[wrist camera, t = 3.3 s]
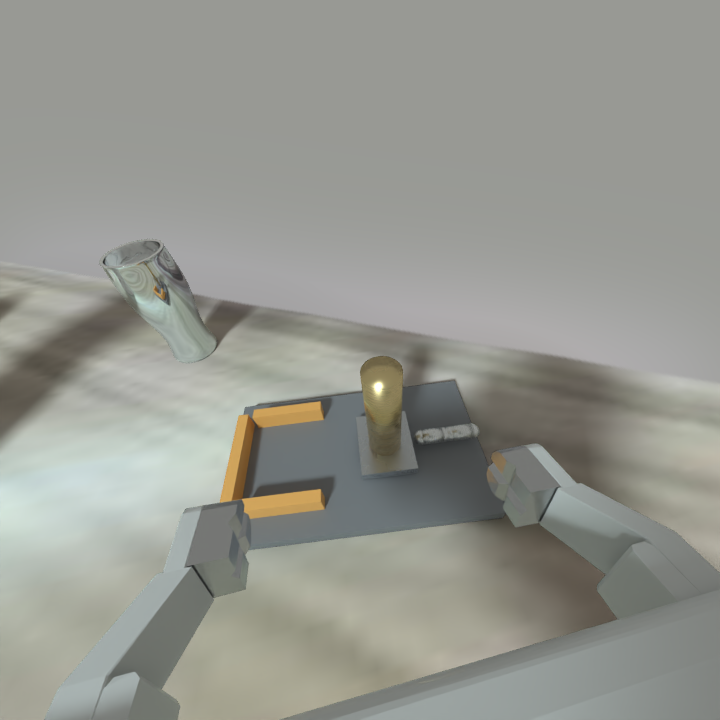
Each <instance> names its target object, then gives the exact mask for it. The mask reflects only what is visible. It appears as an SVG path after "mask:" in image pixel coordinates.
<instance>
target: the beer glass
mask: <svg viewBox="0 0 720 720" xmlns="http://www.w3.org/2000/svg"><path fill="white" fill-rule="evenodd" d="M99 264H100V265H101V266H102V267H103V269H104V271H105V272H106V274H107V275H108V277H109V278H110V280H111V281H112V283H113V284H114V286H115V287H116V289H117V290H118V292H119V293H120V294H121V296H122V297H123V298H124V299H125V301H126V302H127V303H128V304H129V305H130V307H131V308H132V309H133V310H134V311H135V312H136V313H137V314H138V315H139V316H140V317H142V318H143V319H144V320H145V321H146V322H147V323H148V324H149V325H150V326H152V327H153V328H154V329H155V330H156V331H157V332H158V333H159V334H160V335H161V336H162V337H163V338H164V339H165V340H166V342H167V343H168V345H169V347H170V349H171V351H172V353H173V356H174V357H175V359H176V360H177V361H179V362H181V363H193V362H197V361H200V360H202V359H204V358H206V357H207V356H209V355H210V354H211V353H212V352H213V351H214V349H215V348H216V346H217V339H216V337H215V336H214V335H213V334H212V333H211V331H210V330H209V329H208V328H207V327H206V326H205V324H204V323H203V321H202V319H201V317H200V314H199V312H198V309H197V306H196V303H195V300H194V297H193V295H192V292H191V290H190V287H189V285H188V283H187V281H186V279H185V277H184V275H183V273H182V272H181V270H180V268H179V267H178V265H177V264H176V262H175V261H174V259H173V258H172V256H171V255H170V254H169V252H168V251H167V249H166V248H165V246H164V244H163V243H162V242H161V241H160V240H156V239H144V240H137V241H133V242H129V243H126V244H123V245H121V246H118V247H116V248H114V249H112V250H110V251H109V252H107V253H106V254H105V255H103V256H102V258H101V259H100V261H99Z"/></svg>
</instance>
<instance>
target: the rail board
mask: <svg viewBox="0 0 720 720" xmlns="http://www.w3.org/2000/svg"><path fill="white" fill-rule="evenodd" d="M402 411H405V413H406V418H407V422H408V426H409V431H410V435H411V439H412V443H413V448H414V452H415V456H416V461H417V465H418V473H412V474H404V475H397V476H389V477H381V478H373V479H365V480H363V479H362V473H361V463H360V452H359V442H358V432H357V422H356V417H361V416H366V414H365V407H364V399H363V392H362V393H354V394H346V395H338V396H330V397H322V398H314V399H306V400H298V401H290V402H282V403H275V404H267V405H259V406H251V407H245V410H244V415H240V416H239V417H238V421H237V426H236V430H235V435H234V440H233V444H232V449H231V453H230V458H229V462H228V467H227V471H226V476H225V480H224V485H223V490H222V494H221V499H220V503H221V502H227V501H233V500H239V499H242V501H243V503H244V505H245V507H244V512H245V513H247V514H248V515H249V518H250V522H251V547H250V548H249V550H253V549H261V548H269V547H277V546H285V545H293V544H300V543H308V542H316V541H324V540H332V539H340V538H347V537H355V536H363V535H371V534H379V533H387V532H395V531H402V530H410V529H418V528H426V527H434V526H442V525H449V524H457V523H465V522H473V521H481V520H489V519H497V518H503V517H504V515H505V514H506V512H505V511H504V509H503V500H501V499H499V498H498V497H496V496H495V495H494V493H493V492H492V490H491V488H490V486H489V484H488V480H487V470H488V467H489V465H488V463H487V461H486V458H485V456H484V453H483V451H482V448H481V446H480V443H479V441H478V438H477V437H476V438H472V439H464V440H456V441H448V440H447V441H446V442H441V443H433V444H425V445H420V444H418V443H416V441H415V440H414V434H415V432H416V431H418V430H422V429H430V428H437V427H445V428H446V427H447V426H453V425H461V424H469V423H471V421H470V418H469V416H468V413H467V411H466V408H465V406H464V403H463V401H462V398H461V396H460V393H459V391H458V389H457V386H456V384H455V381H449V382H441V383H433V384H425V385H417V386H409V387H403V388H402Z"/></svg>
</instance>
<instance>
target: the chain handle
mask: <svg viewBox="0 0 720 720" xmlns="http://www.w3.org/2000/svg"><path fill="white" fill-rule="evenodd" d="M360 376H361V383H362V391H363V399H364V407H365V414H366V416H361V417H356V422H357V432H358V442H359V452H360V463H361V473H362V479H363V480H365V479H373V478H381V477H389V476H397V475H404V474H412V473H418V465H417V461H416V456H415V452H414V448H413V443H412V439H411V435H410V431H409V426H408V422H407V418H406V413H405V411H402V388H403V369H402V366H401V364H400V363H399V362H398V361H397V360H395V359H393V358H391V357H387V356H378V357H374V358H371V359H369V360H367V361H366V362H365V363H364V364H363V365H362V367H361V370H360ZM478 435H479V428H478V426H477V425H475V424H472V423H469V424H461V425H453V426H447V427H446V428H445V427H437V428H430V429H422V430H418V431H416V432H415V434H414V440H415V441H416V443H418V444H420V445H425V444H433V443H441V442H446V441H447V440H448V441H456V440H464V439H472V438H476V437H477V436H478Z"/></svg>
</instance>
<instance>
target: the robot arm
mask: <svg viewBox="0 0 720 720" xmlns="http://www.w3.org/2000/svg"><path fill="white" fill-rule="evenodd" d="M491 460H492V461H493V463H492V464H491V465H490V466H489V467H488V470H487V480H488V484H489V486H490V488H491V490H492V492H493V493H494V495H495V496H496V497H498V498H499V499H501V500H503V509H504V511H505V512H506V514H507V515H508V517H509V519H510V520H511V522H512V523H513V525H514V526H515V527H520V526H525V525H530V524H535V523H540V525H541V526H543V527H544V528H545V529H546V530H548V531H549V532H550V533H552V534H553V535H554V536H556V537H557V538H558V539H560V540H561V541H562V542H564V543H565V544H566V545H567V546H569V547H570V548H571V549H573V550H574V551H575V552H577V553H578V554H579V555H581V556H582V557H583V558H585V559H586V560H587V561H589V562H590V563H591V564H592V565H594V566H595V567H596V568H598V569H599V570H600V571H602V572H603V573H604V574H606V575H605V576H604V577H603V579H602V580H601V581H600V582H599V583H598V584H597V591H598V593H599V594H600V595H601V597H602V598H603V600H604V601H605V602H606V604H607V605H608V606H609V608H610V609H611V611H612V612H613V613H614V615H615V616H616V618H617V619H618V620H614V621H611V622H608V623H604V624H601V625H597V626H594V627H591V628H587V629H584V630H581V631H577V632H574V633H570V634H567V635H564V636H560V637H557V638H554V639H550V640H547V641H543V642H540V643H537V644H533V645H530V646H527V647H523V648H520V649H516V650H513V651H510V652H506V653H503V654H499V655H496V656H493V657H489V658H486V659H483V660H479V661H476V662H472V663H469V664H466V665H462V666H459V667H456V668H452V669H449V670H445V671H442V672H439V673H435V674H432V675H429V676H425V677H422V678H418V679H415V680H412V681H408V682H405V683H402V684H398V685H395V686H391V687H388V688H385V689H381V690H378V691H375V692H371V693H368V694H364V695H361V696H358V697H354V698H351V699H348V700H344V701H341V702H337V703H334V704H331V705H327V706H324V707H321V708H317V709H314V710H310V711H307V712H304V713H300V714H297V715H294V716H290V717H287V718H283V719H280V720H720V573H719V572H718V571H717V570H716V569H715V568H714V567H713V566H712V565H711V564H710V563H709V562H707V561H706V560H705V559H704V558H703V557H702V556H701V555H700V554H699V553H698V552H697V551H696V550H695V549H693V548H692V547H691V546H690V545H689V544H688V543H687V542H686V541H685V540H684V539H683V538H682V537H681V536H680V535H678V534H677V533H676V532H675V531H673V530H671V529H669V528H667V527H665V526H663V525H661V524H659V523H657V522H655V521H653V520H651V519H650V518H648V517H646V516H644V515H642V514H640V513H638V512H636V511H634V510H632V509H630V508H628V507H626V506H624V505H623V504H621V503H619V502H617V501H615V500H613V499H611V498H609V497H607V496H605V495H603V494H601V493H599V492H597V491H596V490H594V489H592V488H590V487H588V486H586V485H584V484H582V483H578V484H577V483H576V482H575V481H574V480H573V479H572V478H571V477H570V476H569V475H568V474H567V473H566V471H565V470H564V469H563V468H562V467H561V466H560V465H559V464H558V463H557V462H556V461H555V460H554V459H553V457H552V456H551V455H550V454H549V453H548V452H547V451H546V450H545V449H544V448H543V447H542V446H541V445H539V444H537V443H535V444H529V445H524V446H517V447H512V448H507V449H502V450H498V451H495V452H493V453H492V456H491ZM244 507H245V505H244V503H243V501H242V499H239V500H233V501H227V502H221V503H215V504H210V505H203V506H198V507H192V508H187V509H185V511H184V512H183V514H182V515H181V518H180V521H179V524H178V527H177V530H176V533H175V537H174V540H173V543H172V546H171V549H170V552H169V555H168V558H167V561H166V564H165V567H164V570H163V572H162V573H158V574H156V575H155V576H154V578H153V579H152V580H151V581H150V582H149V583H148V585H147V586H146V587H145V588H144V589H143V590H142V592H141V593H140V594H139V595H138V596H137V597H136V599H135V600H134V601H133V602H132V603H131V604H130V606H129V607H128V608H127V609H126V610H125V611H124V613H123V614H122V615H121V616H120V617H119V618H118V620H117V621H116V622H115V623H114V624H113V625H112V627H111V628H110V629H109V630H108V631H107V632H106V634H105V635H104V636H103V637H102V638H101V639H100V641H99V642H98V643H97V644H96V645H95V646H94V648H93V649H92V650H91V651H90V652H89V653H88V655H87V656H86V657H85V658H84V659H83V660H82V662H81V663H80V664H79V665H78V666H77V667H76V669H75V670H74V671H73V672H72V673H71V674H70V676H69V677H68V678H67V679H66V680H65V681H64V683H63V684H62V685H61V686H60V687H59V688H58V690H57V692H56V695H55V697H54V699H53V701H52V703H51V706H50V708H49V710H48V712H47V714H46V717H45V719H44V720H178V715H179V710H180V705H179V703H178V701H177V700H176V699H175V698H173V697H172V696H170V695H169V694H167V693H166V692H164V691H163V690H162V688H163V686H164V684H165V683H166V681H167V679H168V677H169V676H170V674H171V672H172V671H173V669H174V667H175V666H176V664H177V662H178V660H179V659H180V657H181V655H182V654H183V652H184V650H185V649H186V647H187V645H188V643H189V642H190V640H191V638H192V637H193V635H194V633H195V632H196V630H197V628H198V626H199V625H200V623H201V621H202V620H203V618H204V616H205V615H206V613H207V611H208V609H209V608H210V606H211V604H212V603H213V601H214V599H213V598H215V597H219V596H223V595H227V594H231V593H234V592H238V591H242V590H246V582H247V573H248V565H249V563H248V561H247V559H246V556H245V554H246V553H247V551H248V550H249V548H250V547H251V522H250V518H249V515H248V514H247V513H245V512H244Z"/></svg>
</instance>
